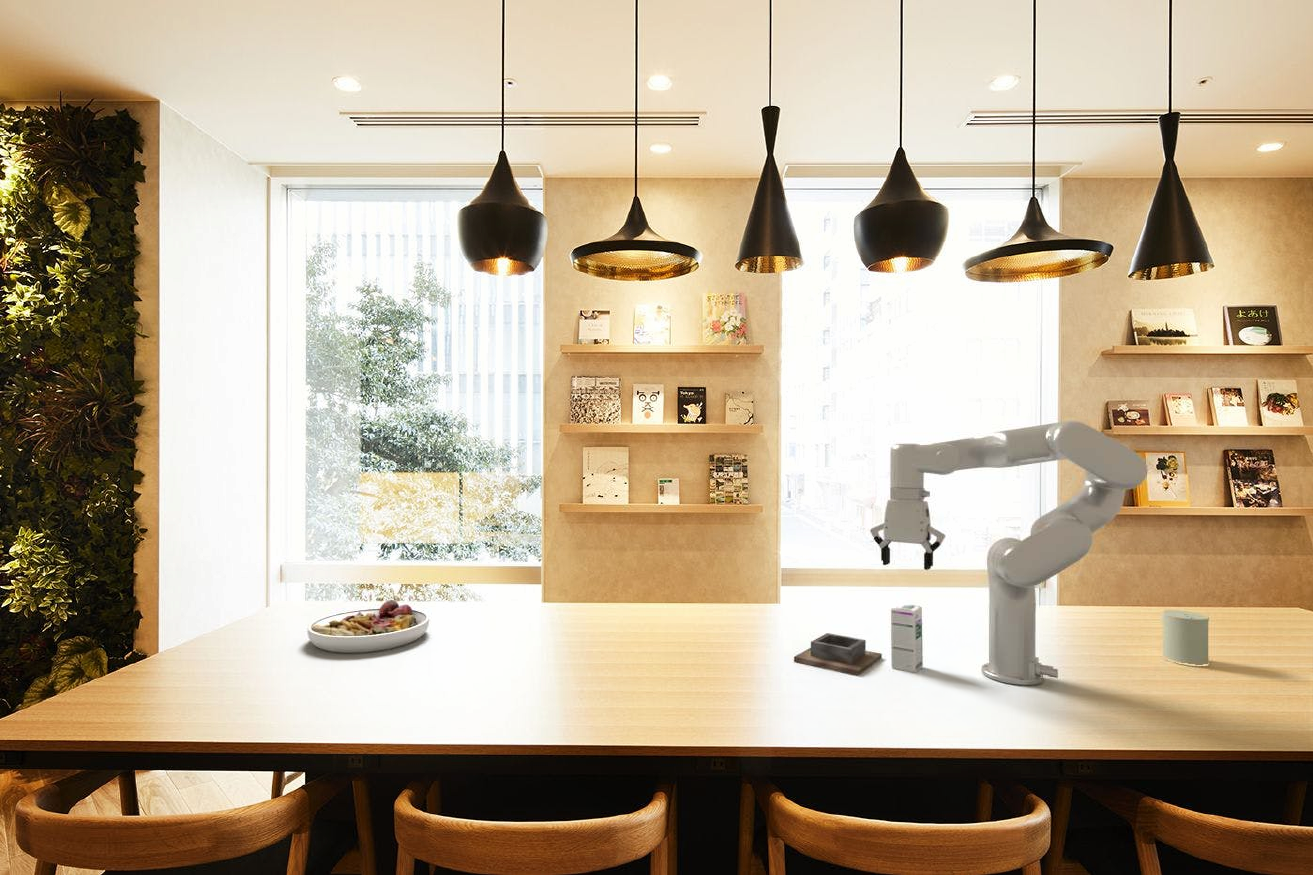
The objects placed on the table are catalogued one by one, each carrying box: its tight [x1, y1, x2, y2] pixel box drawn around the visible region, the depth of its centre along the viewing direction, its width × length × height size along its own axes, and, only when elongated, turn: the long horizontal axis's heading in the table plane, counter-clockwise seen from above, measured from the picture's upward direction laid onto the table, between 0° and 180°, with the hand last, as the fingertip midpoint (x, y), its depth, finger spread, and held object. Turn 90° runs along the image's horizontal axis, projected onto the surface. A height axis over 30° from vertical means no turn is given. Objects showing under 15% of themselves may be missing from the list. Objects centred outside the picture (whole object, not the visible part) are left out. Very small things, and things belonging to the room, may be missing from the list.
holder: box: [793, 632, 883, 677], centre depth 165 cm, size 16×16×5 cm
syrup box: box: [890, 603, 924, 674], centre depth 160 cm, size 6×6×14 cm
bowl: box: [307, 599, 430, 654], centre depth 180 cm, size 30×30×8 cm
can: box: [1161, 609, 1210, 665], centre depth 167 cm, size 9×9×12 cm
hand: (906, 566), depth 160 cm, fingers open, 9 cm apart
